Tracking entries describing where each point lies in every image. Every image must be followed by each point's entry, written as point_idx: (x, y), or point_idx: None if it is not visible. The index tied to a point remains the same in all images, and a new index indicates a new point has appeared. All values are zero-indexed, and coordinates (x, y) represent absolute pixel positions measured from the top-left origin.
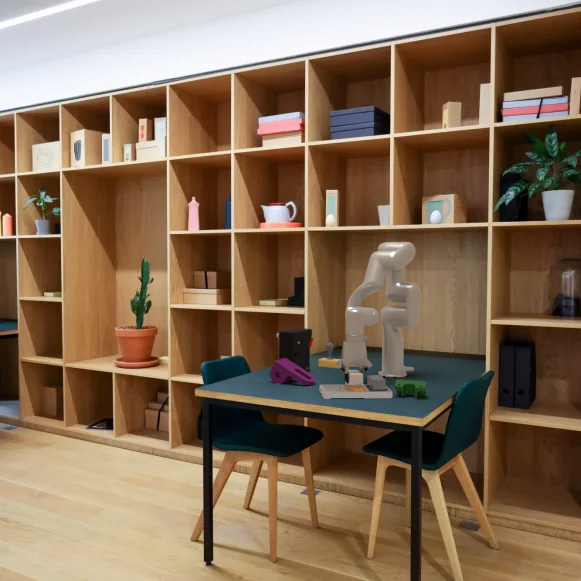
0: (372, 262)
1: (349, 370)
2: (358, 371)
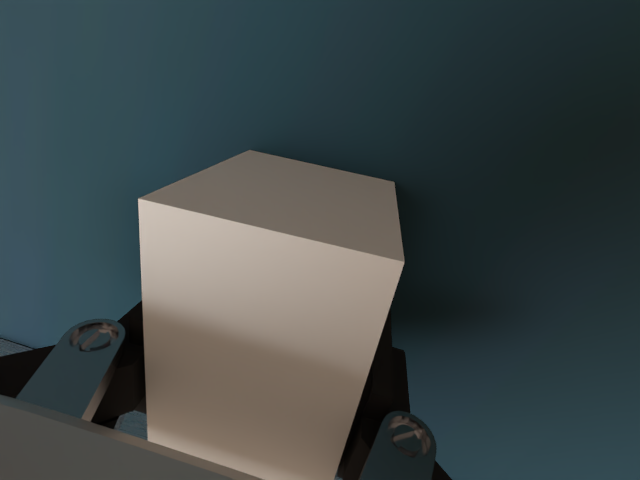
0: None
1: (213, 254)
2: (346, 397)
